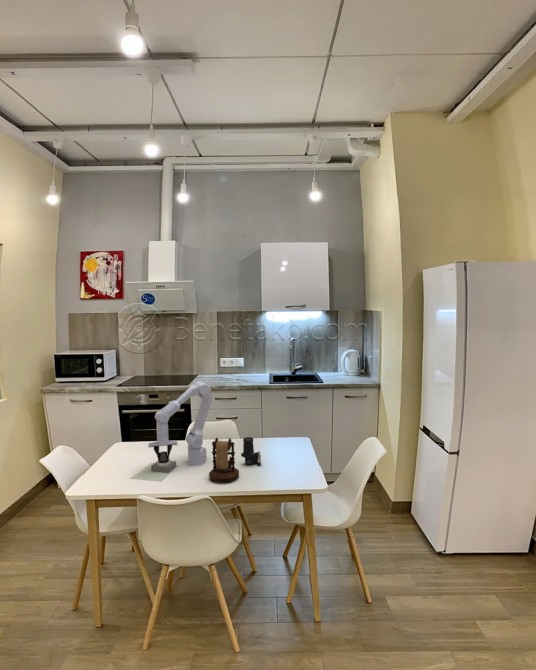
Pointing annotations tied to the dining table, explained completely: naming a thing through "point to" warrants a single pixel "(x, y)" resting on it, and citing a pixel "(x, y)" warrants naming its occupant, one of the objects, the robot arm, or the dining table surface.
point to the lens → (163, 457)
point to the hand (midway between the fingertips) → (163, 459)
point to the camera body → (163, 466)
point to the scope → (250, 453)
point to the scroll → (223, 461)
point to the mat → (151, 474)
